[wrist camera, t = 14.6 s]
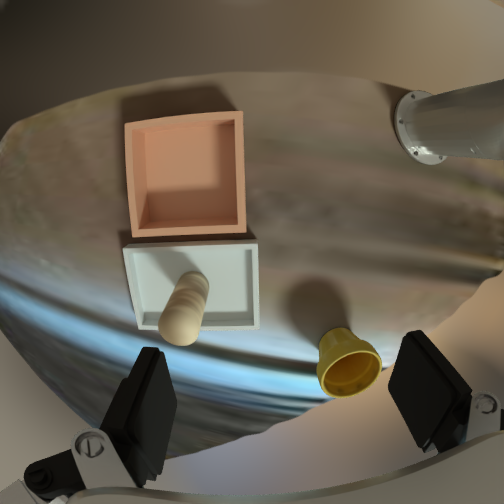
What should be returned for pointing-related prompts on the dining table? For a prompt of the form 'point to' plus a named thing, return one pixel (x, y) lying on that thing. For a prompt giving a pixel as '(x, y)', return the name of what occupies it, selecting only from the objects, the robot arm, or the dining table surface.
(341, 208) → the dining table surface
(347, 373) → the plant pot
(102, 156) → the dining table surface
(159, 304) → the grey tray
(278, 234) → the dining table surface
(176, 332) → the maple peg
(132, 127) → the peach square hollow box
